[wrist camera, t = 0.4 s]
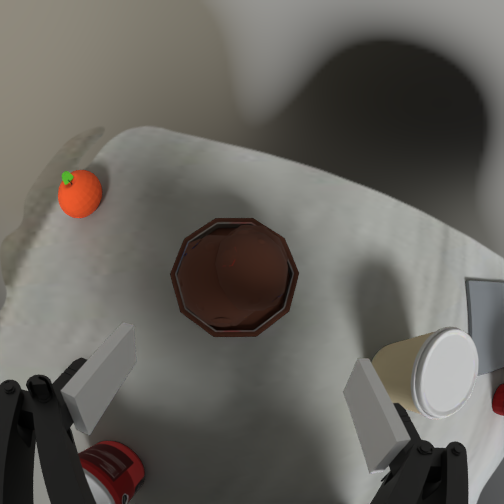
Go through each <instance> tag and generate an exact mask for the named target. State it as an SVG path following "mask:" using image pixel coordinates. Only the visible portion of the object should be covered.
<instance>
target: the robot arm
mask: <svg viewBox="0 0 504 504" xmlns="http://www.w3.org/2000/svg"><path fill="white" fill-rule="evenodd" d="M136 362H137V358H136V346H135V331H134V325H132V324H128V323H125V322H122V323H121V324H120V325H119V327H118V328H117V329H116V330H115V331H114V332H113V333H112V334H111V335H110V336H109V337H108V338H107V339H106V340H105V342H104V343H103V344H102V345H101V346H100V347H99V348H98V349H97V350H96V351H95V352H94V354H93V355H92V356H91V357H90V358H89V359H88V360H86V359H84V358H79V359H77V360H75V361H73V362H72V364H71V365H70V366H69V367H68V368H67V369H66V370H65V371H64V373H62V374H61V375H60V376H59V377H58V379H57V380H56V381H55V382H54V383H53V384H52V383H51V380H50V379H49V378H48V377H47V376H44V375H34V376H32V377H30V378H29V379H28V381H27V383H26V386H27V388H28V391H25V390H22V389H21V387H20V385H19V383H18V382H16V381H14V380H6V381H4V382H2V383H1V385H0V504H33V470H34V453H35V444H36V442H37V448H38V453H39V459H40V464H41V469H42V473H43V477H44V481H45V485H46V488H47V492H48V495H49V498H50V502H51V504H97V503H96V501H95V499H94V497H93V494H92V492H91V489H90V487H89V484H88V482H87V479H86V476H85V474H84V471H83V468H82V465H81V462H80V459H79V456H78V452H77V449H76V445H75V442H74V438H73V434H72V431H71V429H70V427H71V425H72V424H73V423H74V425H75V427H76V429H77V430H79V431H81V432H83V433H85V434H87V435H89V436H90V434H91V433H92V431H93V429H94V428H95V426H96V424H97V423H98V421H99V420H100V418H101V416H102V415H103V413H104V412H105V410H106V408H107V407H108V405H109V404H110V402H111V401H112V399H113V397H114V396H115V394H116V393H117V391H118V390H119V388H120V387H121V385H122V383H123V382H124V380H125V379H126V377H127V376H128V374H129V373H130V371H131V370H132V368H133V367H134V365H135V364H136ZM343 393H344V396H345V399H346V401H347V404H348V407H349V410H350V413H351V416H352V419H353V422H354V425H355V428H356V431H357V434H358V438H359V441H360V444H361V447H362V450H363V453H364V457H365V460H366V463H367V466H368V470H369V473H370V474H372V473H378V472H383V471H384V470H385V469H386V468H387V467H388V466H389V467H390V472H389V473H388V474H387V475H386V476H385V477H384V478H383V479H382V480H381V481H383V480H384V479H385V480H384V481H383V483H382V485H381V487H380V488H379V490H378V492H377V493H376V495H375V497H374V498H373V500H372V502H371V503H370V504H468V466H467V454H466V449H465V447H464V446H463V444H461V443H459V442H451V443H449V445H448V446H447V447H446V448H434V447H433V445H432V444H431V443H430V442H428V441H425V440H421V438H420V436H419V434H418V432H417V431H416V429H415V427H414V425H413V423H412V422H411V419H410V417H409V416H408V414H407V412H406V410H405V408H404V407H403V406H401V405H400V404H399V403H392V401H391V399H390V397H389V395H388V393H387V391H386V389H385V387H384V385H383V384H382V382H381V380H380V378H379V376H378V374H377V372H376V371H375V369H374V367H373V365H372V363H371V362H370V360H369V358H358V359H357V361H356V364H355V366H354V368H353V371H352V373H351V375H350V378H349V380H348V382H347V385H346V387H345V389H344V391H343Z"/></svg>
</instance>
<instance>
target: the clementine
mask: <svg viewBox="0 0 504 504" xmlns="http://www.w3.org/2000/svg"><path fill="white" fill-rule="evenodd" d="M62 179H63V181H62V182H61V184H60V187H59V191H58V200H59V204H60V206H61V208H62V210H63V211H64V212H65V213H66V214H67V215H69V216H71V217H73V218H83V217H86V216H88V215H90V214H92V213H93V212H94V211H95V210H96V209H97V207H98V205H99V203H100V201H101V198H102V187H101V184H100V181H99V180H98V178H97V177H96V176H95V175H94V174H93V173H91V172H89V171H86V170H76V171H73V172H71V173H69V172H67V171H65V172H64V173H63V174H62Z"/></svg>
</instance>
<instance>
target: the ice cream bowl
mask: <svg viewBox="0 0 504 504" xmlns="http://www.w3.org/2000/svg"><path fill="white" fill-rule="evenodd" d="M170 275H171V279H172V283H173V287H174V290H175V294H176V298H177V301H178V305H179V308H180V312H181V313H183V314H184V315H185V316H186V317H188V318H189V319H190V320H192V321H193V322H194V323H196V324H197V325H198V326H200V327H201V328H202V329H204V330H205V331H206V332H208V333H209V334H211V335H212V336H213V337H256V336H258V335H259V334H260V333H262V332H263V331H264V330H266V329H267V328H268V327H270V326H271V325H272V324H273V323H275V322H276V321H277V320H279V319H280V318H281V317H282V316H284V315H285V314H286V313H288V312H289V310H290V306H291V303H292V299H293V295H294V291H295V287H296V283H297V279H298V275H299V272H298V269H297V267H296V265H295V262H294V260H293V257H292V255H291V252H290V250H289V248H288V245H287V243H286V240H285V238H283V237H282V236H280V235H279V234H277V233H276V232H274V231H272V230H271V229H269V228H268V227H266V226H265V225H263V224H261V223H260V222H258V221H257V220H255V219H254V218H215V219H214V220H212V221H211V222H209V223H208V224H206V225H204V226H203V227H201V228H200V229H198V230H197V231H195V232H194V233H192V234H191V235H189V236H188V237H186V238H185V239H184V241H183V243H182V245H181V248H180V250H179V253H178V255H177V258H176V260H175V263H174V265H173V268H172V271H171V273H170Z"/></svg>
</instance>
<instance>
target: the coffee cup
mask: <svg viewBox="0 0 504 504" xmlns="http://www.w3.org/2000/svg"><path fill="white" fill-rule="evenodd" d="M371 363H372V365H373V367H374V369H375V371H376V372H377V374H378V376H379V378H380V380H381V382H382V384H383V385H384V387H385V389H386V391H387V393H388V395H389V397H390V399H391V401H392V403H399V404H400V405H401V406H403V407H404V408H405V409H408V410H410V411H413V412H416V413H419V414H422V415H423V416H425V417H427V418H430V419H443V418H446V417H448V416H450V415H452V414H454V413H456V412H457V411H458V410H459V409H460V408H461V407H462V406H463V405H464V404H465V403H466V401H467V400H468V399H469V397H470V395H471V393H472V391H473V389H474V386H475V383H476V380H477V375H478V353H477V349H476V346H475V344H474V342H473V340H472V338H471V337H470V336H469V335H468V334H467V333H466V332H464V331H462V330H461V329H459V328H456V327H445V328H442V329H439V330H437V331H435V332H432V333H428V334H425V335H421V336H418V337H414V338H411V339H407V340H403V341H399V342H396V343H392V344H389V345H387V346H385V347H383V348H382V349H380V350H379V351H378V352H377V354H376V355H375V356H374V358H373V359H372V361H371Z"/></svg>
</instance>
